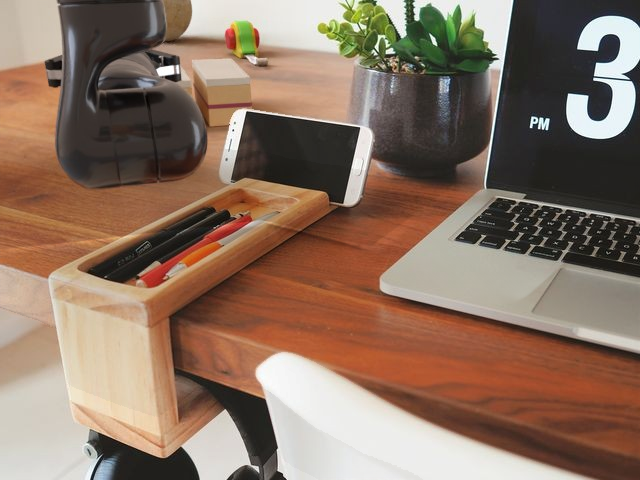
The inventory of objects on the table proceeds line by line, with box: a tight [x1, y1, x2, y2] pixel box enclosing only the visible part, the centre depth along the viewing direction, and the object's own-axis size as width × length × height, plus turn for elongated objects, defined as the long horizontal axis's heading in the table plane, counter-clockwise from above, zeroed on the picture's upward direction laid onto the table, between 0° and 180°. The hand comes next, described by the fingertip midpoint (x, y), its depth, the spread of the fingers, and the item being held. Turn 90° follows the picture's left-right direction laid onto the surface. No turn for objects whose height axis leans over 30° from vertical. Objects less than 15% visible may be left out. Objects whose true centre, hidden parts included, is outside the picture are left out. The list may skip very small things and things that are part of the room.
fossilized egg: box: [161, 0, 193, 42], centre depth 157 cm, size 13×13×15 cm
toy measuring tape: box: [224, 20, 269, 67], centre depth 144 cm, size 6×19×7 cm, turn 24°
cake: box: [175, 57, 253, 128], centre depth 104 cm, size 14×14×6 cm
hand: (111, 54), depth 81 cm, fingers closed on knife, 2 cm apart
